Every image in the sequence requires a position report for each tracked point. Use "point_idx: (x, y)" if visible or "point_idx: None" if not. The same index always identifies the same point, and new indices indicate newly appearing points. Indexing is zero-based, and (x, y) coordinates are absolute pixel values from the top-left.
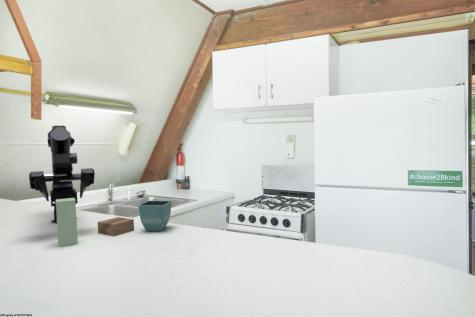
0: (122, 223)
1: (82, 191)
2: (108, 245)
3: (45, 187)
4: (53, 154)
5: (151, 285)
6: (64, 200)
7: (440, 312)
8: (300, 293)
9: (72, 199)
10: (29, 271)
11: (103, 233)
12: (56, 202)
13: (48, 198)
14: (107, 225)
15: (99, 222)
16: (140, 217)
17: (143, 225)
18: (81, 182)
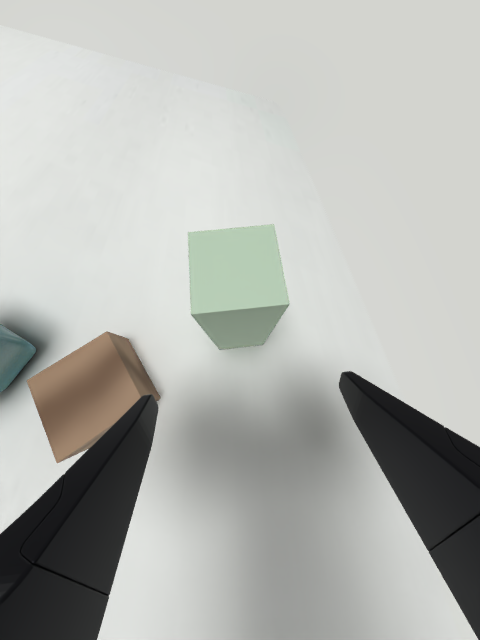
0: (77, 351)
1: (115, 424)
2: (154, 268)
3: (456, 457)
4: None
5: (138, 105)
6: (238, 249)
7: None
8: (28, 56)
9: (200, 260)
10: (283, 190)
11: (147, 376)
12: (271, 226)
13: (345, 373)
14: (123, 357)
15: (139, 392)
16: (6, 335)
17: (28, 343)
18: (28, 555)
